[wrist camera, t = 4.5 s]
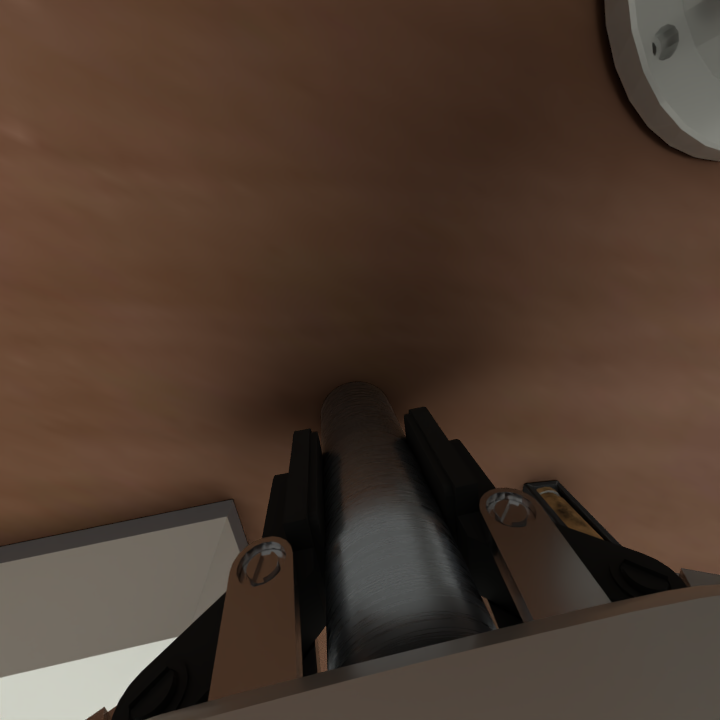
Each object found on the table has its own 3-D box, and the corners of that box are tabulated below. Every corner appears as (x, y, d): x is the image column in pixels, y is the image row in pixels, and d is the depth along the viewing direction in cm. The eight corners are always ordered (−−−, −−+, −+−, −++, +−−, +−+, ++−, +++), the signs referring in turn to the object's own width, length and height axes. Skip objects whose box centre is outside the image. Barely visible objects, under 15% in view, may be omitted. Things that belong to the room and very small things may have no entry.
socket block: (-108, 569, 14) (-364, 761, 9) (232, 499, 15) (187, 634, 10) (46, 751, 18) (-61, 949, 13) (297, 689, 19) (290, 850, 14)
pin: (314, 389, 14) (310, 706, 4) (386, 375, 14) (536, 649, 4) (327, 450, 15) (348, 818, 5) (394, 437, 15) (530, 768, 5)
